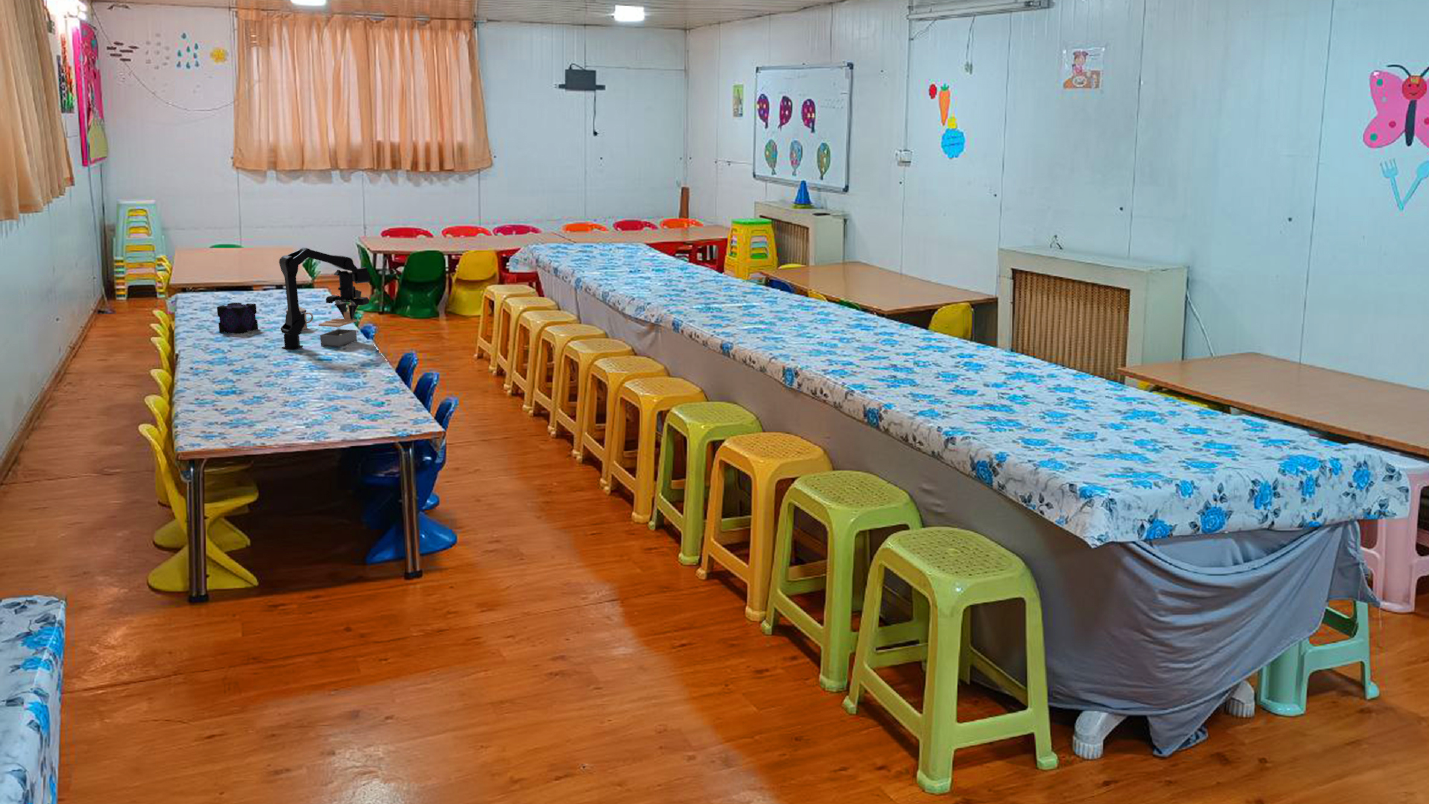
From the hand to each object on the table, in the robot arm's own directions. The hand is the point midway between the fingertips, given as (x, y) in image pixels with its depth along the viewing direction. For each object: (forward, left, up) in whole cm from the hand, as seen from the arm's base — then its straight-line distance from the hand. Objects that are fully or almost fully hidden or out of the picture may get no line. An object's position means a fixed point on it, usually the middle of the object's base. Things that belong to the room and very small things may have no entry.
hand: (348, 319), depth 514 cm
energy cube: (+2, +60, -10) cm, 61 cm away
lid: (-7, 0, 0) cm, 7 cm away
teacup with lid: (+15, +36, -10) cm, 40 cm away
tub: (-9, 0, -9) cm, 13 cm away
